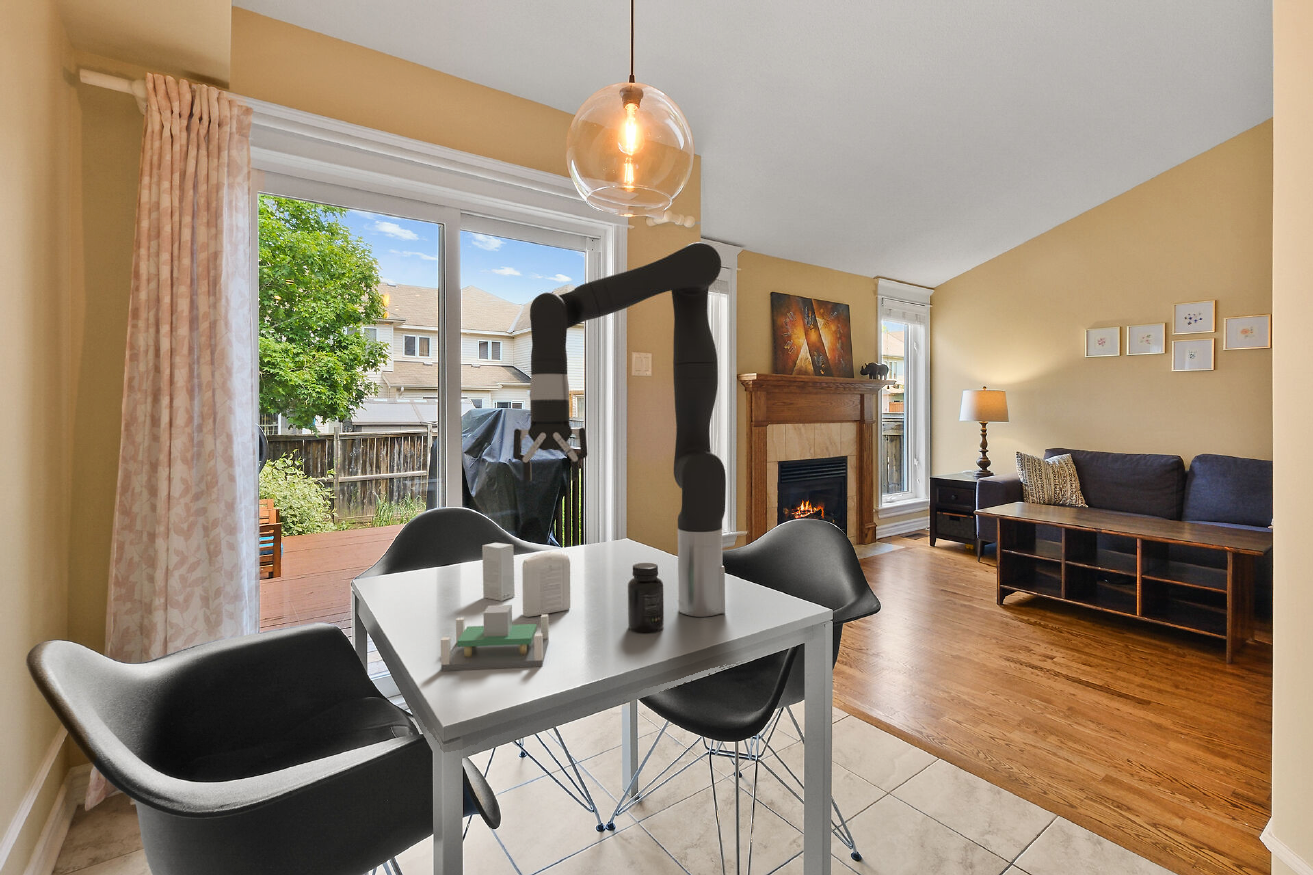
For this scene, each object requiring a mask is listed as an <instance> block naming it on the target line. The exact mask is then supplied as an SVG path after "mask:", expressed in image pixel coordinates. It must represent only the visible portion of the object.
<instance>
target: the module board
mask: <svg viewBox="0 0 1313 875" xmlns="http://www.w3.org/2000/svg"><path fill="white" fill-rule="evenodd" d="M482 614H483V625H470V626H466V628H465V631H464V632H463V633H462V635H461V636H460V638H459V639H458V640H457V647H469V646H496V645H524V644H531V643H532V641H533V638H534V635H535V634H537V633H536V632H537V630H538V629H537V627H538V626H537V625H538V624H537V623H533V624H532V623H530V624H529V623H528V624H526V623H525V624H513V605H512V604H503V605H502V604H501V605H496V604H495V605H487V607H486V609H484V611H483V613H482Z"/></svg>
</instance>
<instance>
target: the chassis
mask: <svg viewBox="0 0 1313 875" xmlns="http://www.w3.org/2000/svg"><path fill="white" fill-rule="evenodd" d="M465 622H466V621H465V617H457V618H456V619H455V635H456V641H455V642H456V643H455V644H454V645H453V647H452V646H451V637H450V636H449V637H447V636H443V637H442V638H441V639H440V659H441V660H440V662H441V664H440V665H441V667H440V668H441V670H440V671H441V672H449V671H451V672H452V671H467V670H468V671H469V670H487V669H488V670H492V669H513V668H515V669H516V668H536V667H543V665H544V661H545V658H546V653H547V649H548V646H549V643H550V642H549V641H550V640H549V638H550V633H549V613H547V614H542V615H541V616H540V633H535V635H534V638H533V641H532V643H531V644H524V645H496V646H469V647H457V640H458V639H459V638H460V636H461V635H462V633H463V632H464V631H465V629H466V628H465V626H466V625H465ZM451 647H452V648H451Z"/></svg>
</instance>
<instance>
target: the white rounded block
mask: <svg viewBox="0 0 1313 875" xmlns="http://www.w3.org/2000/svg"><path fill="white" fill-rule="evenodd" d="M521 568H522V569H521V570H522V572H521V574H522V575H521V576H522V615H523V616H524V617H526V618H530V617H534V616H535V617H536V616H540V615H545V614H551V613H557V612H563V611H567V610H568V611H569V610H570V609H571V561H570V557H569V555H568V554H565V553H562V552H561V553H560V552H552V551H550V552H541V553H538V554H535V555H532V556H529V557H527V558H525V559H524V560H523V562H522V567H521Z"/></svg>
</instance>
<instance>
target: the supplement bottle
mask: <svg viewBox="0 0 1313 875" xmlns="http://www.w3.org/2000/svg"><path fill="white" fill-rule="evenodd" d="M658 566H659V565H658V564H657V563H652V562H640V563H638V562H637V563H635V564H633V565H632V572H631V573H632V578H631V579H630V580H629V581H628V583H627V620H628V621H627V624H628V628H629V629H630V631H632V632H634V633H639V634H652V633H653V634H654V633H657V632H659V631H661V630H662V629H663V628H664V624H665V616H664V614H665V612H664V611H665V610H664V609H665V608H664V602H665V600H664V582H663V581H662V580H661V578H659V577H658V576H659V569H658V568H659V567H658Z"/></svg>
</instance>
